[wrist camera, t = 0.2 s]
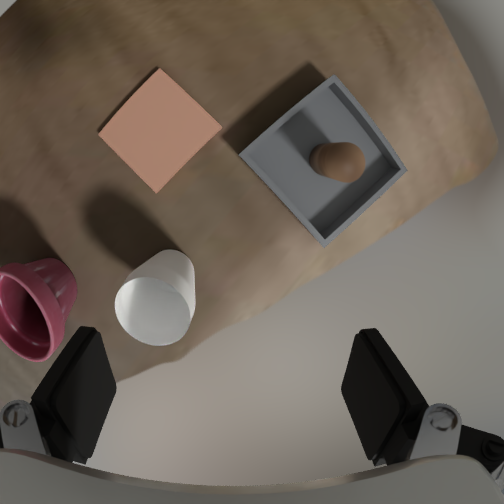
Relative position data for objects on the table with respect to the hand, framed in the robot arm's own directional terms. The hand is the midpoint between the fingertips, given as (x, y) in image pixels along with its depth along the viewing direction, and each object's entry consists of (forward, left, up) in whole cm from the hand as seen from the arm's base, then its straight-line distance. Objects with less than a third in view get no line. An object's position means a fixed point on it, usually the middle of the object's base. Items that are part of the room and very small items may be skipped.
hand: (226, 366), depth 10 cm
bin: (-13, +4, -31) cm, 34 cm away
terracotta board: (0, -14, -31) cm, 34 cm away
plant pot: (+30, -12, -31) cm, 45 cm away
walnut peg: (-13, +4, -30) cm, 33 cm away
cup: (+13, +1, -31) cm, 34 cm away
